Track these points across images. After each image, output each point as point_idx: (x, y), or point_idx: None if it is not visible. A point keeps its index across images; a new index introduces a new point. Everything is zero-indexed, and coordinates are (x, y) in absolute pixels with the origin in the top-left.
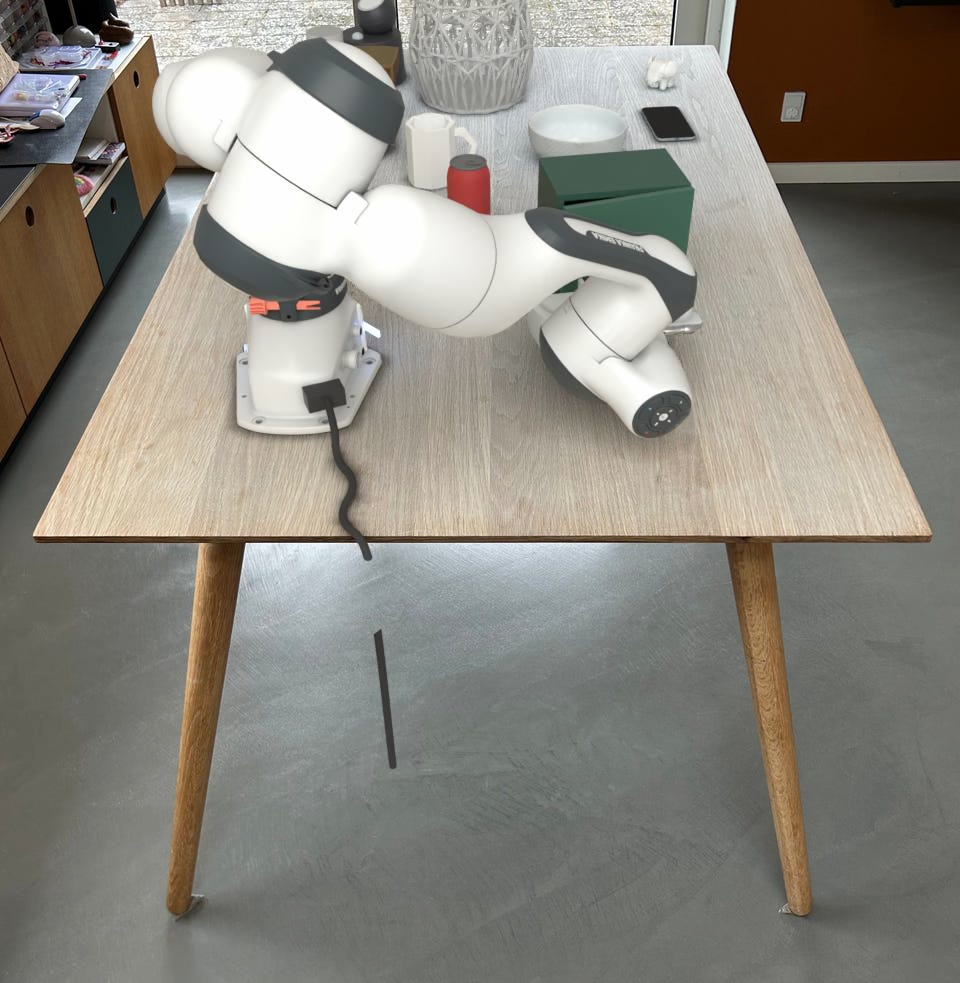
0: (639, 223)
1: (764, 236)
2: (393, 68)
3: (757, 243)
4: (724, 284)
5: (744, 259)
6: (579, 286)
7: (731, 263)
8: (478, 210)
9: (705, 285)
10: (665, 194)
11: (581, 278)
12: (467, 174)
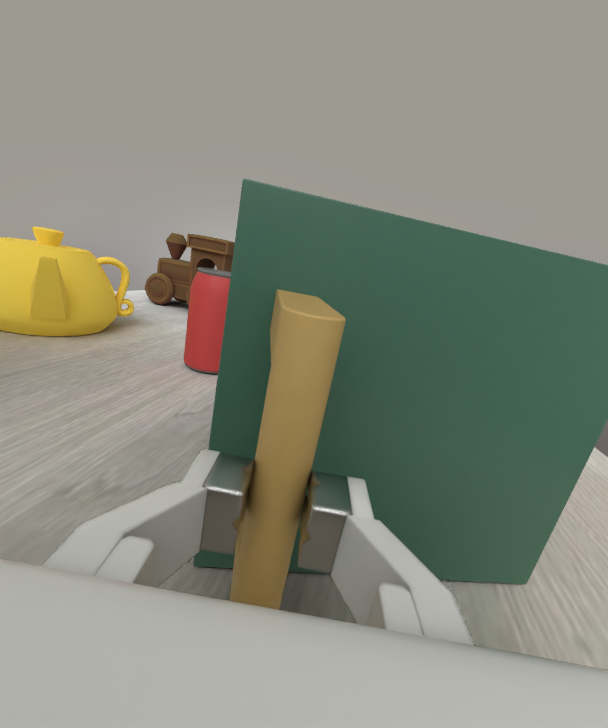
0: (485, 335)
1: (603, 473)
2: (229, 245)
3: (601, 481)
4: (604, 557)
5: (601, 505)
6: (147, 495)
7: (583, 506)
8: (215, 330)
9: (561, 546)
10: (591, 263)
11: (214, 452)
12: (208, 278)
